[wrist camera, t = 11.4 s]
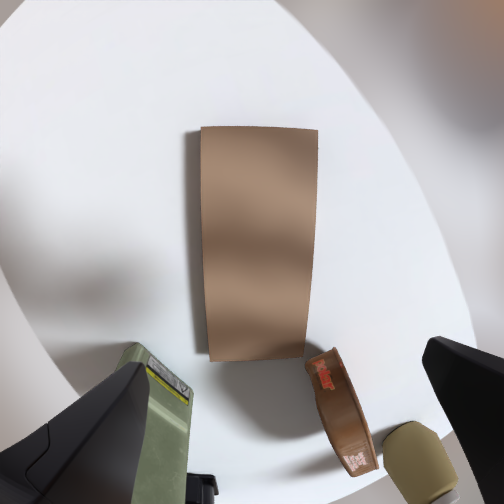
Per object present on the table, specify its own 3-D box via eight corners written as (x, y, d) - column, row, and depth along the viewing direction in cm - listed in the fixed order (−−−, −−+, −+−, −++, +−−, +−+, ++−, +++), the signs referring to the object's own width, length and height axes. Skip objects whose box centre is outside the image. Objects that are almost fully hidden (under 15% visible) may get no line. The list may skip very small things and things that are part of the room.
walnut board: (299, 348, 21) (303, 356, 20) (210, 352, 21) (209, 361, 20) (312, 132, 17) (317, 130, 16) (202, 129, 16) (200, 126, 15)
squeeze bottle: (375, 458, 29) (416, 549, 12) (373, 434, 27) (426, 544, 10) (423, 433, 29) (473, 515, 12) (427, 405, 27) (493, 500, 9)
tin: (359, 417, 25) (387, 475, 17) (332, 429, 25) (357, 489, 18) (326, 324, 20) (375, 406, 12) (288, 342, 20) (321, 432, 12)
